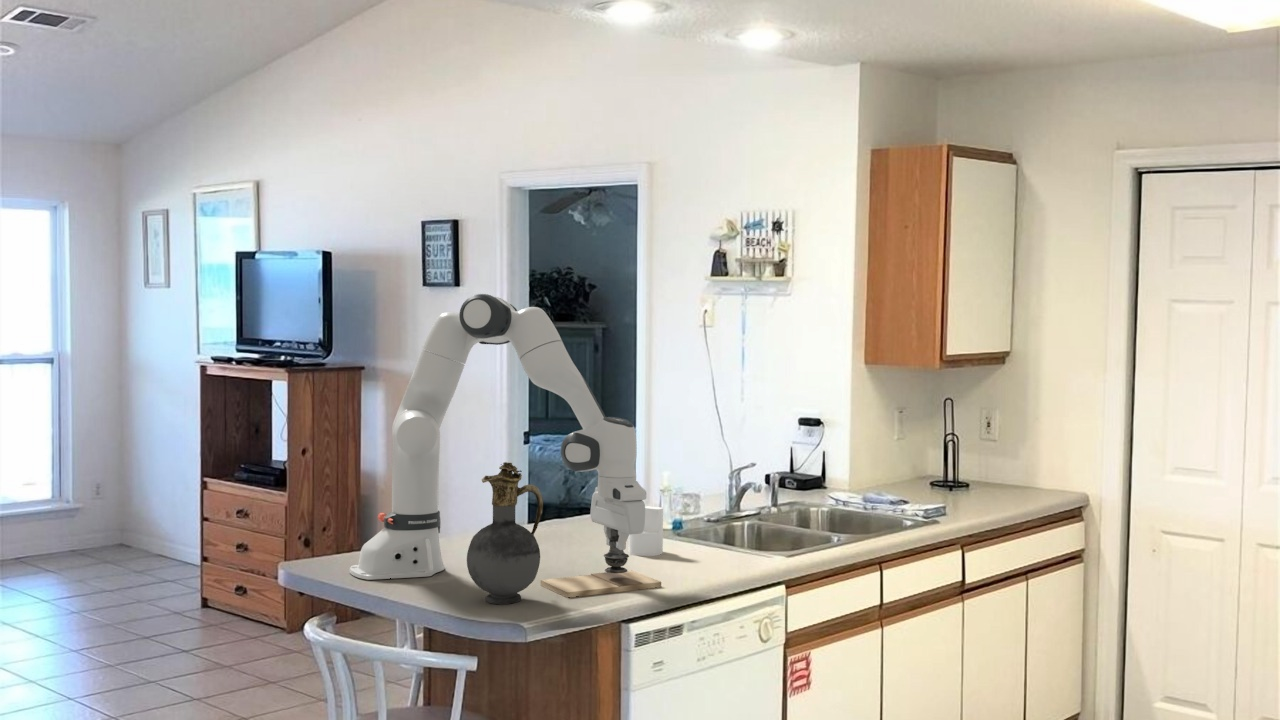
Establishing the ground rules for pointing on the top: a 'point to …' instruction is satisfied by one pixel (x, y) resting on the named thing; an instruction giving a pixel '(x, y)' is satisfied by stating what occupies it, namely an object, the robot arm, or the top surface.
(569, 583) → the plywood board
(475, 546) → the pitcher
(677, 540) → the top surface
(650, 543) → the white canister
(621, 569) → the salt shaker
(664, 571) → the top surface
